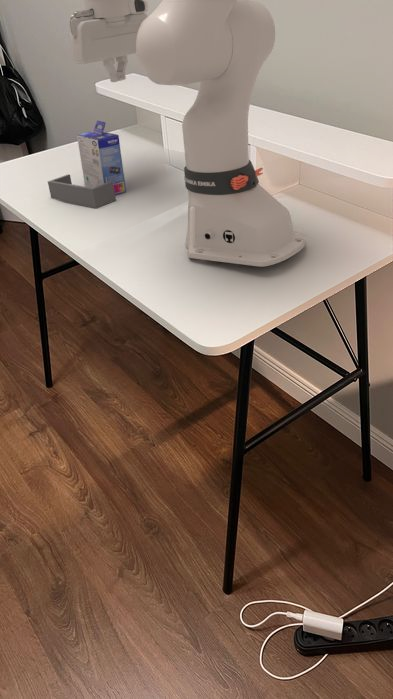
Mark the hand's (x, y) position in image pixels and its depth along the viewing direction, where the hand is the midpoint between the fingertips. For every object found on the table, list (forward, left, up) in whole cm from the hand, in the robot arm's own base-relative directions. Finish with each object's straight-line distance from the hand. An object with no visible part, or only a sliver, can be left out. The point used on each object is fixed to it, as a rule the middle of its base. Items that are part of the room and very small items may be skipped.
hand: (118, 80), depth 132 cm
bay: (0, +16, -21) cm, 26 cm away
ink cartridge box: (0, +9, -22) cm, 23 cm away
